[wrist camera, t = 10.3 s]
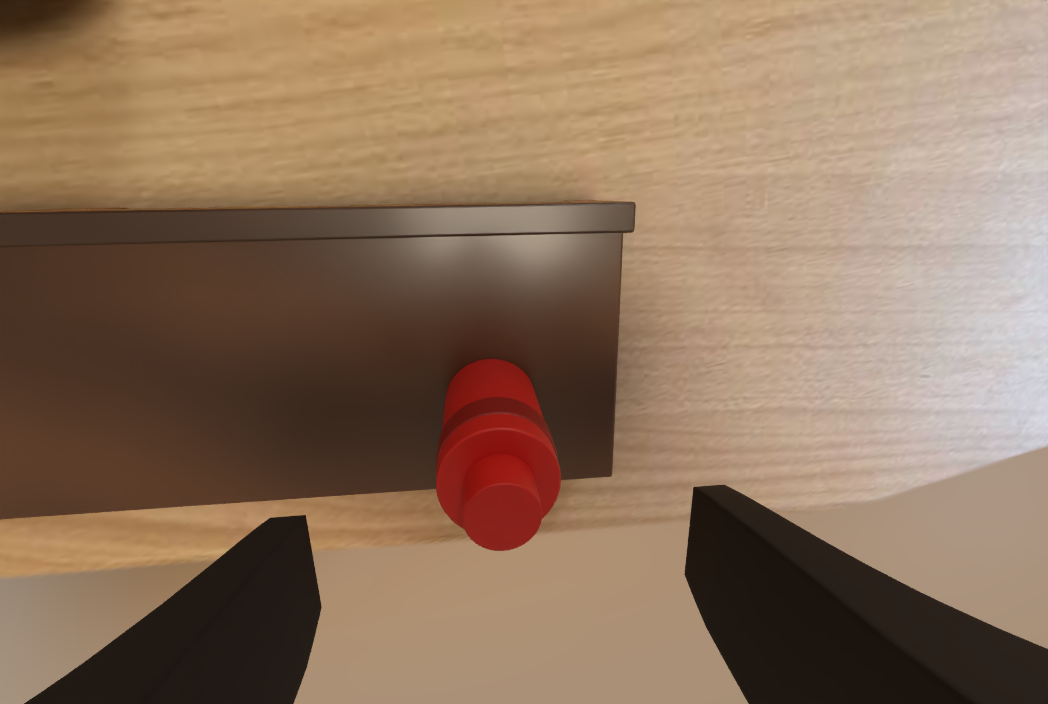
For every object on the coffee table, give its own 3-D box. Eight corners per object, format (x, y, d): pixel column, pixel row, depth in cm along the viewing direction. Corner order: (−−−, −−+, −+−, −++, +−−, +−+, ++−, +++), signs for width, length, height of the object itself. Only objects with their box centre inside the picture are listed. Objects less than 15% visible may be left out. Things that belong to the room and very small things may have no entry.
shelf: (589, 431, 20) (621, 494, 16) (-317, 486, 17) (-578, 582, 13) (596, 200, 17) (636, 202, 13) (-481, 217, 14) (-879, 226, 10)
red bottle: (546, 427, 16) (588, 555, 10) (459, 452, 16) (454, 594, 10) (523, 345, 15) (555, 435, 9) (432, 371, 15) (408, 478, 9)
